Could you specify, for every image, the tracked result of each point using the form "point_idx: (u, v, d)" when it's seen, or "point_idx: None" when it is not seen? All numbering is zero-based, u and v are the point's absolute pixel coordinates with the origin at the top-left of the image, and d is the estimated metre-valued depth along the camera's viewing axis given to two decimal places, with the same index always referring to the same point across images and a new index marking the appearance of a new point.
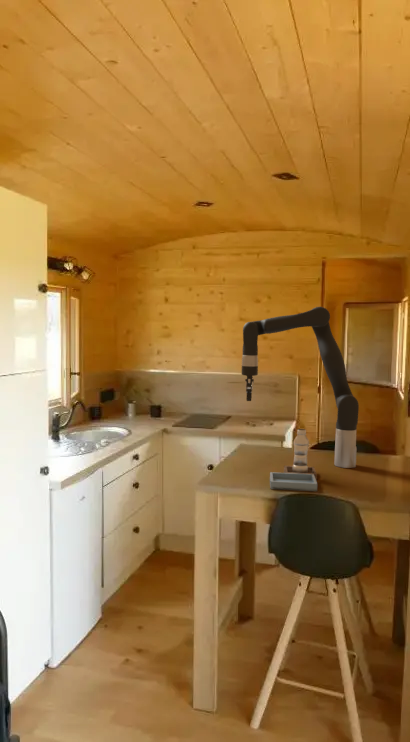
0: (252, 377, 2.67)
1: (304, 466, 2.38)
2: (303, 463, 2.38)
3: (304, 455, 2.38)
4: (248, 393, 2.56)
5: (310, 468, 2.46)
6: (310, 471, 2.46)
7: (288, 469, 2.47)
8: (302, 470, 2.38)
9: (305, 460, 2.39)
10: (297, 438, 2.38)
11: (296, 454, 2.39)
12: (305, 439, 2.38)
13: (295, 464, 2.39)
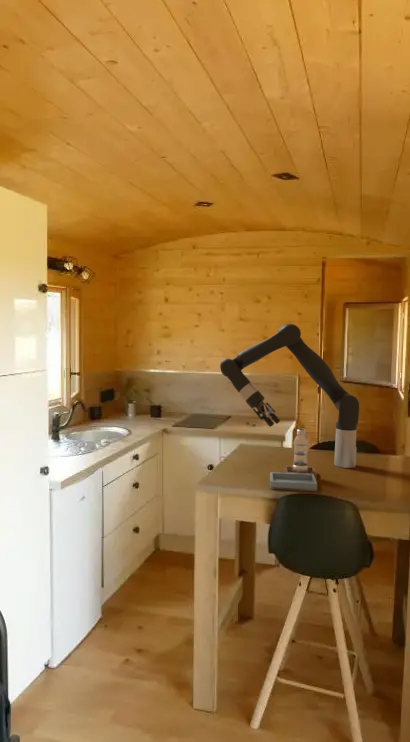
0: (267, 403, 2.52)
1: (304, 466, 2.38)
2: (303, 463, 2.38)
3: (304, 455, 2.38)
4: (265, 419, 2.41)
5: (310, 468, 2.46)
6: (310, 471, 2.46)
7: (288, 469, 2.47)
8: (302, 470, 2.38)
9: (305, 460, 2.39)
10: (297, 438, 2.38)
11: (296, 454, 2.39)
12: (305, 439, 2.38)
13: (295, 464, 2.39)
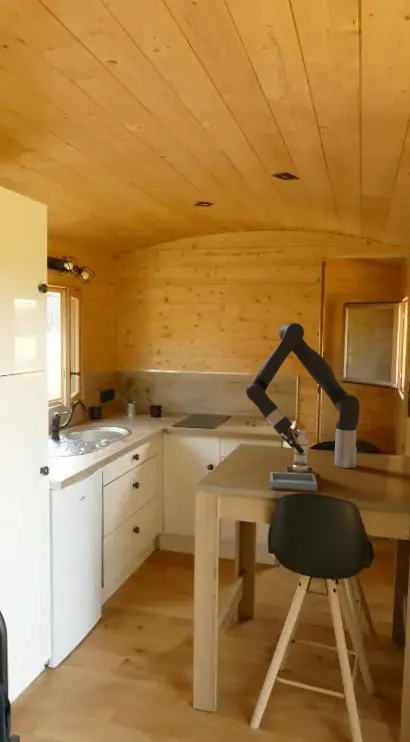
0: (295, 429, 2.47)
1: (304, 466, 2.38)
2: (303, 463, 2.38)
3: (304, 455, 2.38)
4: (295, 447, 2.37)
5: (310, 468, 2.46)
6: (310, 471, 2.46)
7: (288, 469, 2.47)
8: (302, 470, 2.38)
9: (305, 460, 2.39)
10: (297, 438, 2.38)
11: (296, 454, 2.39)
12: (305, 439, 2.38)
13: (295, 464, 2.39)
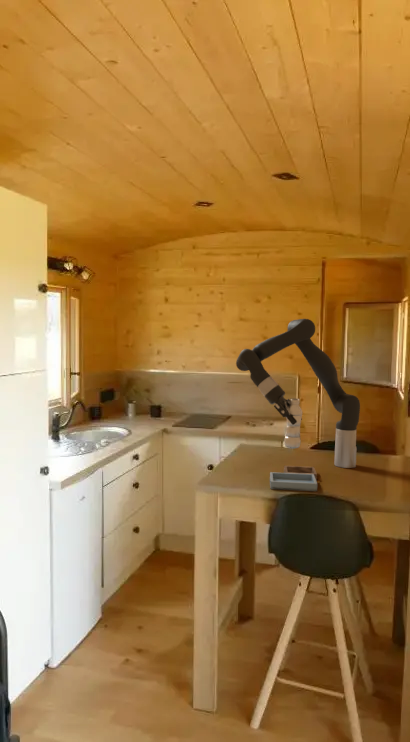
0: (288, 399, 2.33)
1: (297, 438, 2.24)
2: (296, 435, 2.24)
3: (297, 426, 2.24)
4: (288, 417, 2.22)
5: (310, 468, 2.46)
6: (310, 471, 2.46)
7: (288, 469, 2.47)
8: (295, 442, 2.24)
9: (298, 431, 2.24)
10: (290, 408, 2.24)
11: (288, 425, 2.24)
12: (298, 409, 2.23)
13: (287, 436, 2.25)
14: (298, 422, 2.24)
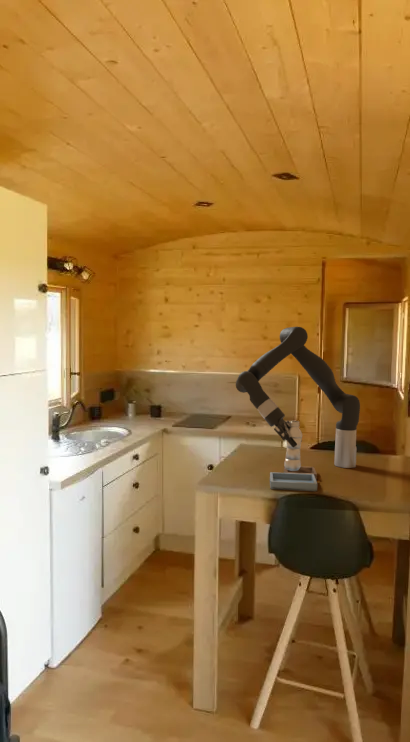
0: (288, 421, 2.32)
1: (297, 460, 2.23)
2: (296, 457, 2.23)
3: (297, 448, 2.23)
4: (288, 439, 2.22)
5: (310, 468, 2.46)
6: (310, 471, 2.46)
7: None
8: (295, 464, 2.23)
9: (298, 454, 2.24)
10: (290, 430, 2.23)
11: (288, 447, 2.24)
12: (298, 431, 2.23)
13: (287, 458, 2.24)
14: (298, 444, 2.23)
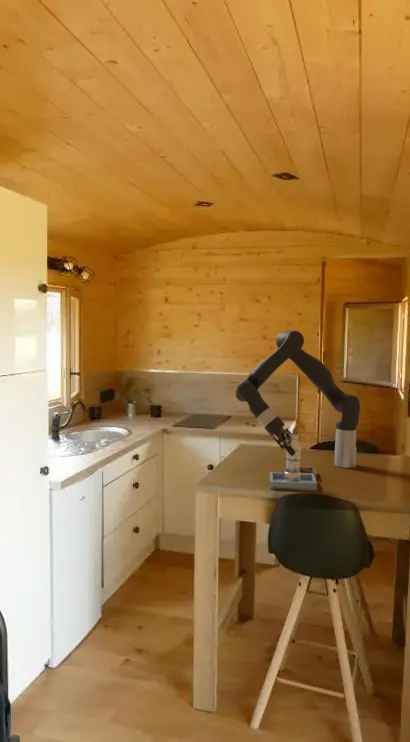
0: (287, 429, 2.32)
1: (297, 473, 2.24)
2: (295, 470, 2.24)
3: (297, 461, 2.24)
4: (286, 448, 2.21)
5: (310, 468, 2.46)
6: (310, 471, 2.46)
7: None
8: (295, 477, 2.24)
9: (298, 466, 2.24)
10: (289, 443, 2.24)
11: (288, 460, 2.25)
12: (298, 444, 2.23)
13: (287, 471, 2.25)
14: (298, 457, 2.24)
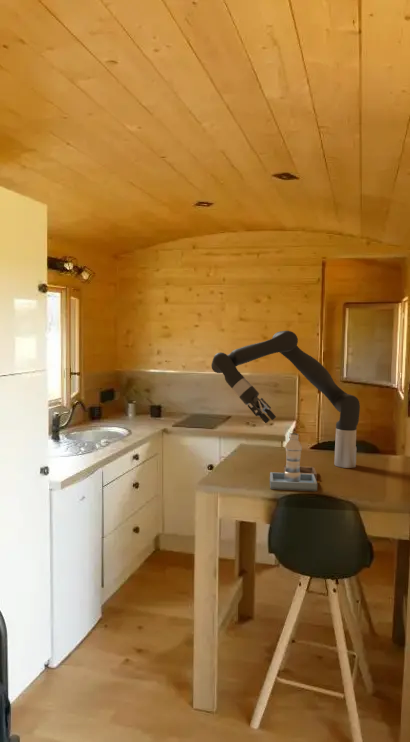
0: (262, 398, 2.41)
1: (297, 473, 2.24)
2: (295, 470, 2.24)
3: (297, 461, 2.24)
4: (260, 416, 2.30)
5: (310, 468, 2.46)
6: (310, 471, 2.46)
7: None
8: (295, 477, 2.24)
9: (298, 466, 2.24)
10: (289, 443, 2.24)
11: (288, 460, 2.25)
12: (298, 444, 2.23)
13: (287, 471, 2.25)
14: (298, 457, 2.24)
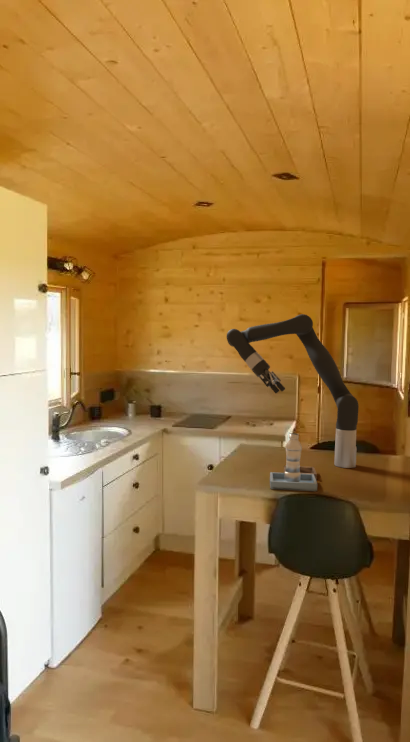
0: (272, 371, 2.59)
1: (297, 473, 2.24)
2: (295, 470, 2.24)
3: (297, 461, 2.24)
4: (271, 386, 2.48)
5: (310, 468, 2.46)
6: (310, 471, 2.46)
7: None
8: (295, 477, 2.24)
9: (298, 466, 2.24)
10: (289, 443, 2.24)
11: (288, 460, 2.25)
12: (298, 444, 2.23)
13: (287, 471, 2.25)
14: (298, 457, 2.24)
